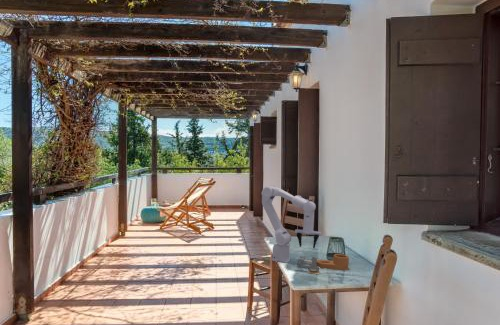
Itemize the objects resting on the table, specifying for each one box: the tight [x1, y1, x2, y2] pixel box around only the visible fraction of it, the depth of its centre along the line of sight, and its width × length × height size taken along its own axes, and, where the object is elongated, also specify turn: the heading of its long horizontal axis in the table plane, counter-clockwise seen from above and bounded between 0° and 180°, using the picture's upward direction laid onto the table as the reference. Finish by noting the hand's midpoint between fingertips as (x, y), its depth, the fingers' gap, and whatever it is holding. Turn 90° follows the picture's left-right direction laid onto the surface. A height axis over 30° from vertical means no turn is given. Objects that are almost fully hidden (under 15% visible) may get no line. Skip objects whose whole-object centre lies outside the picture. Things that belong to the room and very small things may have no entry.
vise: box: [297, 255, 319, 269], centre depth 218 cm, size 10×11×5 cm
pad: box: [306, 269, 321, 276], centre depth 210 cm, size 6×6×1 cm
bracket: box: [317, 253, 350, 271], centre depth 222 cm, size 18×8×7 cm, turn 80°
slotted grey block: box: [307, 256, 320, 274], centre depth 210 cm, size 3×5×7 cm, turn 73°
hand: (307, 247), depth 224 cm, fingers open, 7 cm apart
